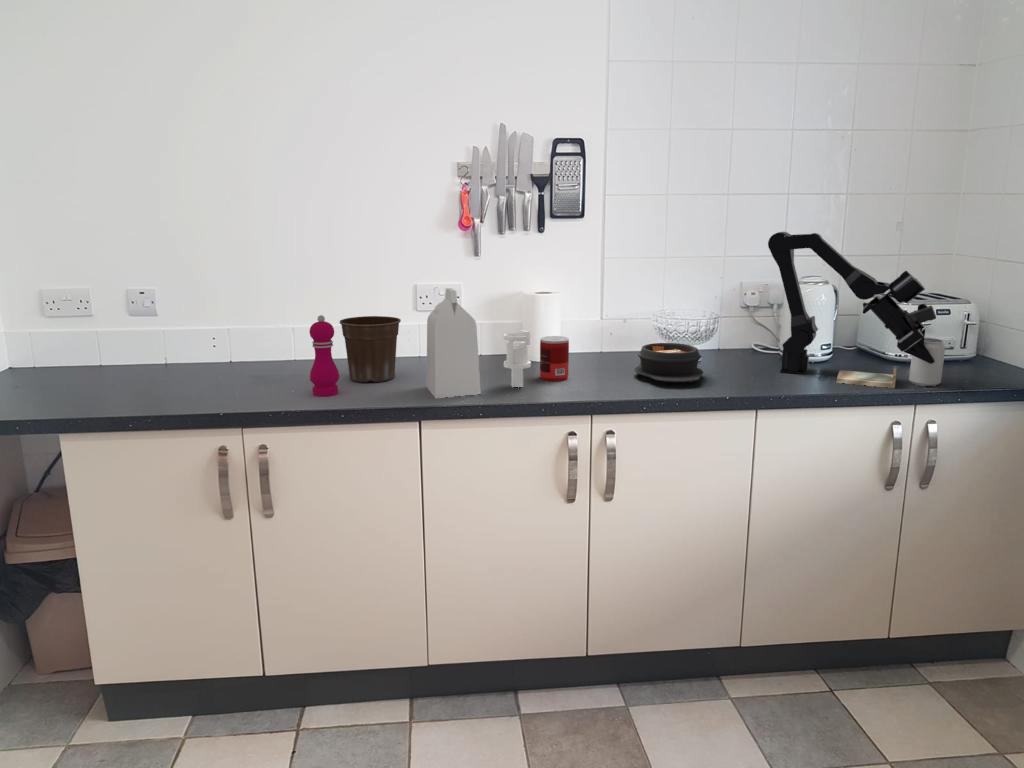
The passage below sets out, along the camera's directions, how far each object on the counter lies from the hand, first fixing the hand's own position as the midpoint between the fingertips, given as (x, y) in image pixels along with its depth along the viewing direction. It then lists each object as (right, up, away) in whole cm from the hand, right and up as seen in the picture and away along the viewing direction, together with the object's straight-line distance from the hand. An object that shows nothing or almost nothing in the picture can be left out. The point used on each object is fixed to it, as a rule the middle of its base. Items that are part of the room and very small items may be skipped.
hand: (933, 359), depth 207 cm
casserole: (-67, -5, +11) cm, 68 cm away
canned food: (-98, -5, +10) cm, 99 cm away
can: (-1, -6, +2) cm, 7 cm away
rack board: (-15, -5, +6) cm, 17 cm away
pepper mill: (-157, -9, -6) cm, 158 cm away
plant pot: (-148, -5, +11) cm, 149 cm away
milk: (-125, -8, -3) cm, 125 cm away
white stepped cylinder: (-109, -7, +1) cm, 109 cm away
